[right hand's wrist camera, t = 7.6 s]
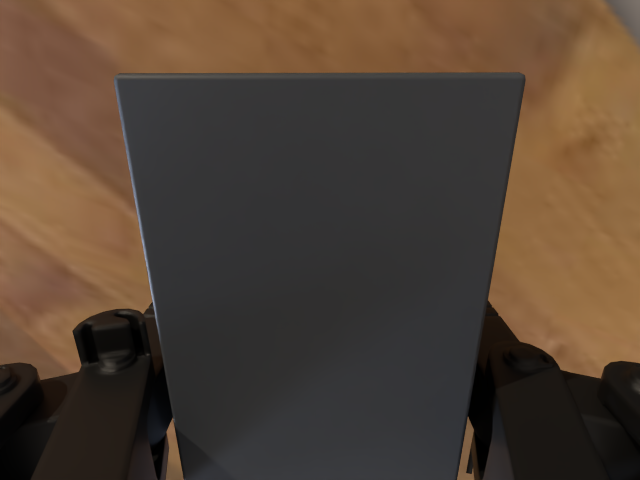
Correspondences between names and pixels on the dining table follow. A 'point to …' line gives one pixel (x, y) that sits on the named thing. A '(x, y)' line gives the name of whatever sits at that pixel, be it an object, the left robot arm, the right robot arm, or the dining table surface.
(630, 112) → the dining table surface
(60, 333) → the dining table surface
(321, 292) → the bar
